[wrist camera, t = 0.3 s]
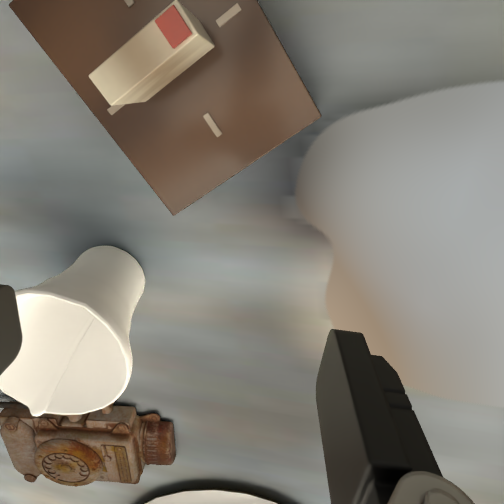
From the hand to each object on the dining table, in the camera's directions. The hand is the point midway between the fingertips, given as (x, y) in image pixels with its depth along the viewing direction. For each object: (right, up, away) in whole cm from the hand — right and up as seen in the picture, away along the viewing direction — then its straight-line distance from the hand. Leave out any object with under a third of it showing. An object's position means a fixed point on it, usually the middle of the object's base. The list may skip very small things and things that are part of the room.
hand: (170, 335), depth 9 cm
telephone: (-21, -13, +27) cm, 36 cm away
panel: (-2, +14, +13) cm, 19 cm away
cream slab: (-2, +13, +11) cm, 17 cm away
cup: (-9, 0, +20) cm, 22 cm away
